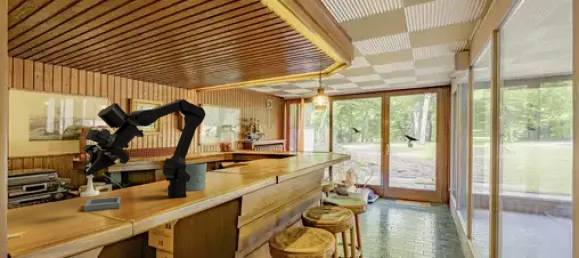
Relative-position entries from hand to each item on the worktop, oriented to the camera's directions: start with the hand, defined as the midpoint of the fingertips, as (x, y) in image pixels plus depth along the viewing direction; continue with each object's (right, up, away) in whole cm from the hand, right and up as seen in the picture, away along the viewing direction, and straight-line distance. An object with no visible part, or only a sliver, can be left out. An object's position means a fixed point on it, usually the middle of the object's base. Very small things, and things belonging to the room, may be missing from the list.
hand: (85, 174), depth 87 cm
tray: (-2, -13, +12) cm, 18 cm away
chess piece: (+1, -7, +1) cm, 7 cm away
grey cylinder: (+19, -14, +44) cm, 50 cm away
